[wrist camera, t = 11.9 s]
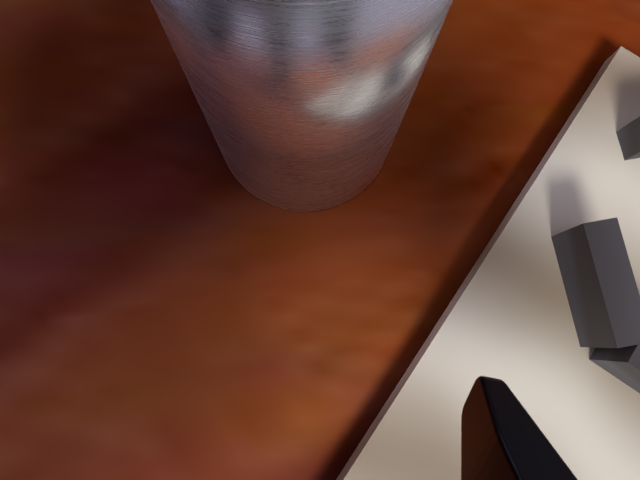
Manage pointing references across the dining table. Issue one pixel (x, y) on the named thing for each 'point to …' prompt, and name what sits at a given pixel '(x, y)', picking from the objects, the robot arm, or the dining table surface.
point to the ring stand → (541, 310)
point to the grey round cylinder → (303, 87)
